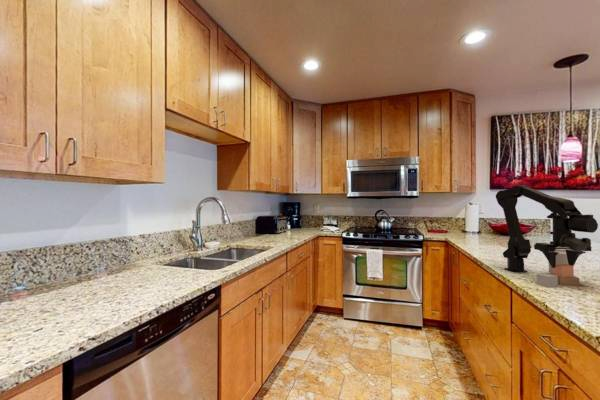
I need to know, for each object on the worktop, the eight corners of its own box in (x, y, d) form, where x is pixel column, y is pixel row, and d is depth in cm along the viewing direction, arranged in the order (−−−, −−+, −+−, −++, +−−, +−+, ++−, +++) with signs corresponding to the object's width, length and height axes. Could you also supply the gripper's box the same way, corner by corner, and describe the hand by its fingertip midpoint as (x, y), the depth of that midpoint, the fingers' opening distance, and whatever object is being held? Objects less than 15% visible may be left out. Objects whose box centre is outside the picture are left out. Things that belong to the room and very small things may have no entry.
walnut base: (546, 281, 118) (546, 273, 118) (565, 281, 117) (565, 273, 117) (559, 286, 111) (559, 277, 111) (579, 286, 110) (579, 278, 110)
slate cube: (536, 284, 113) (536, 273, 113) (545, 283, 114) (545, 272, 114) (548, 288, 109) (548, 276, 109) (557, 287, 109) (557, 275, 109)
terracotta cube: (552, 274, 116) (552, 263, 116) (563, 274, 116) (562, 263, 116) (562, 277, 112) (562, 266, 112) (573, 277, 112) (573, 265, 112)
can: (551, 275, 125) (551, 249, 125) (546, 271, 131) (546, 246, 131) (574, 277, 121) (574, 250, 121) (567, 273, 128) (567, 247, 128)
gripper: (557, 232, 106) (557, 273, 106) (606, 231, 106) (606, 272, 106) (532, 229, 117) (533, 266, 117) (577, 228, 117) (577, 265, 117)
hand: (562, 267), depth 114 cm, fingers open, 7 cm apart
